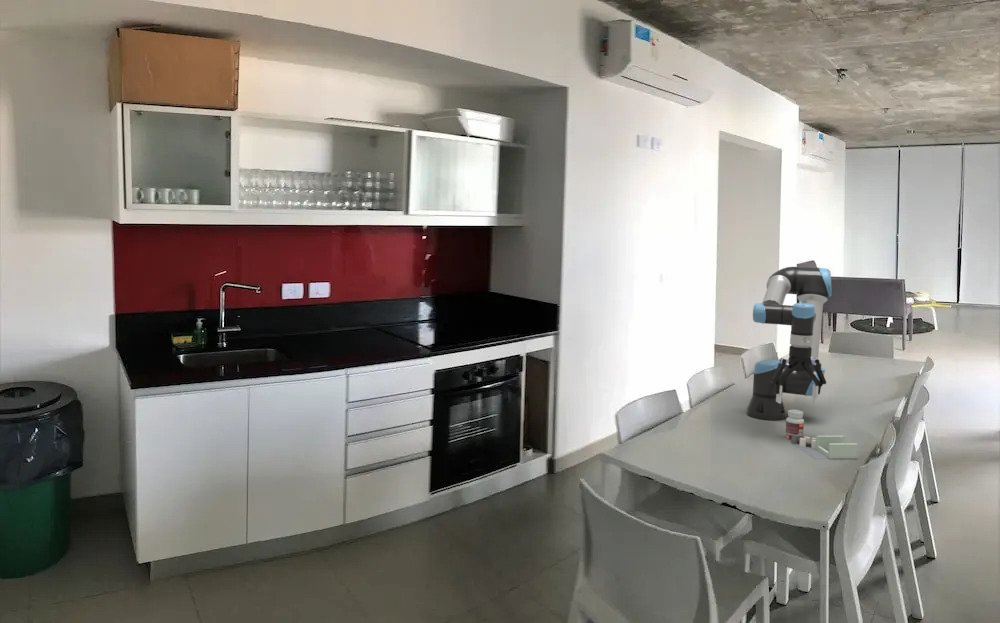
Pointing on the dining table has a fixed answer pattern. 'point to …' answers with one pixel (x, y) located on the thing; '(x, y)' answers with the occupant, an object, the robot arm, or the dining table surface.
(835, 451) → the end holder
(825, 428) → the dining table surface
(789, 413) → the pill bottle
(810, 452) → the board
